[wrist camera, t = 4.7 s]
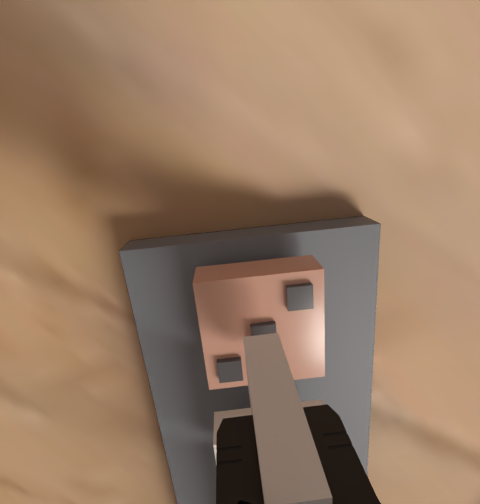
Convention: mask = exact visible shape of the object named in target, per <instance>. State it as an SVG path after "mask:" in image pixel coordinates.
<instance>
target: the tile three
mask: <svg viewBox="0 0 480 504" xmlns="http://www.w3.org/2000/svg"><path fill="white" fill-rule="evenodd" d="M193 290H194V296H195V302H196V309H197V315H198V322H199V328H200V334H201V341H202V347H203V353H204V360H205V366H206V373H207V379H208V385H209V390H213V389H221V388H230V387H238V386H247V385H248V380H247V370H246V361H245V351H244V342H243V337H247V336H255V335H264V334H272V333H278V334H279V337H280V340H281V343H282V346H283V349H284V352H285V355H286V358H287V361H288V364H289V367H290V370H291V373H292V376H293V379H294V380H298V379H307V378H315V377H324V376H325V313H324V268H323V267H322V266H321V265H320V263H319V262H318V261H317V260H316V259H315V258H314V256H313V255H304V256H295V257H286V258H277V259H267V260H258V261H249V262H239V263H230V264H221V265H211V266H202V267H196V270H195V274H194V279H193Z"/></svg>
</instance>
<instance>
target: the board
mask: <svg viewBox="0 0 480 504" xmlns="http://www.w3.org/2000/svg"><path fill="white" fill-rule="evenodd" d="M380 225H381V224H380V223H378V222H376V221H374V220H372V219H370V218H367V217H365V216H360V217H350V218H341V219H331V220H322V221H312V222H303V223H293V224H284V225H274V226H265V227H255V228H246V229H236V230H227V231H217V232H208V233H198V234H188V235H179V236H169V237H160V238H150V239H141V240H131V241H129V242H128V243H127V244H126V245H125V246H124V247H123V248H122V249H121V250H120V251H119V254H120V258H121V262H122V266H123V271H124V275H125V279H126V284H127V288H128V292H129V297H130V301H131V305H132V310H133V314H134V318H135V323H136V327H137V331H138V336H139V340H140V344H141V348H142V353H143V357H144V361H145V366H146V370H147V374H148V379H149V383H150V387H151V392H152V396H153V400H154V405H155V409H156V413H157V418H158V422H159V426H160V430H161V435H162V439H163V443H164V448H165V452H166V456H167V461H168V465H169V469H170V474H171V478H172V482H173V487H174V491H175V495H176V500H177V504H216V460H215V453H214V447H213V433H214V412H219V411H227V410H235V409H244V408H251V405H250V397H249V389H248V385H247V386H238V387H230V388H221V389H213V390H209V385H208V379H207V373H206V366H205V360H204V353H203V347H202V341H201V334H200V328H199V322H198V315H197V309H196V302H195V296H194V290H193V279H194V274H195V270H196V267H202V266H211V265H221V264H230V263H239V262H249V261H258V260H267V259H277V258H286V257H295V256H304V255H313V256H314V258H315V259H316V260H317V261H318V262H319V263H320V265H321V266H322V267H323V268H324V313H325V376H324V377H315V378H307V379H298V380H294V382H295V385H296V389H297V392H298V395H299V398H300V401H301V402H303V401H311V400H320V399H322V400H323V403H324V405H326V404H328V405H329V406H330V407H331V408H332V409H333V410H334V411H335V412H336V413H337V414H338V415H339V416H340V418H341V420H342V422H343V425H344V427H345V429H346V432H347V434H348V435H349V438H350V440H351V442H352V445H353V447H354V449H355V451H356V453H357V455H358V457H359V459H360V462H361V464H362V466H363V468H364V470H365V473H366V475H367V467H368V448H369V429H370V411H371V392H372V374H373V355H374V337H375V318H376V300H377V281H378V263H379V244H380Z"/></svg>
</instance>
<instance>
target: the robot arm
mask: <svg viewBox="0 0 480 504" xmlns="http://www.w3.org/2000/svg"><path fill="white" fill-rule="evenodd" d="M243 342H244V351H245V361H246V370H247V380H248V389H249V397H250V405H251V413H252V415H247V416H239V417H231V418H224V419H223V420H222V422H221V424H220V426H219V429H218V431H217V443H216V449H217V452H216V464H217V466H216V504H381V503H380V502H379V500H378V498H377V496H376V494H375V492H374V490H373V488H372V486H371V483H370V481H369V479H368V477H367V475H366V473H365V470H364V468H363V466H362V464H361V462H360V459H359V457H358V455H357V453H356V451H355V449H354V447H353V445H352V442H351V440H350V438H349V435H348V434H347V432H346V429H345V427H344V425H343V422H342V420H341V418H340V416H339V415H338V414H337V413H336V412H335V411H334V410H333V409H332V408H331V407H330V406H329V405H328V404H326V405H318V406H310V407H302V404H301V401H300V398H299V395H298V392H297V389H296V385H295V382H294V379H293V376H292V373H291V370H290V367H289V364H288V361H287V358H286V355H285V352H284V349H283V346H282V343H281V340H280V337H279V334H278V333H272V334H264V335H255V336H247V337H243Z"/></svg>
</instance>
